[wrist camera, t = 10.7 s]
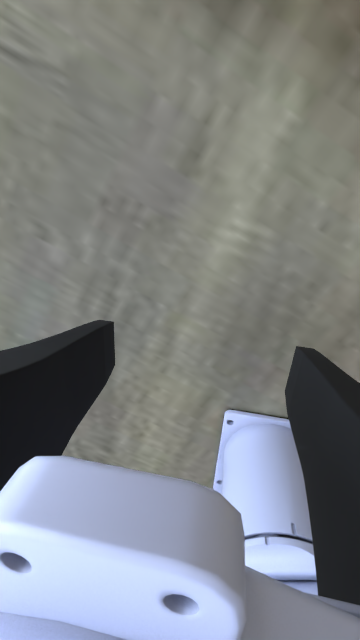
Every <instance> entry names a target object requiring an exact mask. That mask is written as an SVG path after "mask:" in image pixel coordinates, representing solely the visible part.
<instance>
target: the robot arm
mask: <svg viewBox="0 0 360 640" xmlns="http://www.w3.org/2000/svg"><path fill="white" fill-rule="evenodd" d="M114 366H115V349H114V322H111V321H104V320H97V321H93V322H90V323H87V324H84V325H81V326H79V327H76V328H73V329H71V330H68V331H65V332H63V333H60V334H57V335H54V336H51V337H48V338H45V339H42V340H40V341H37V342H33V343H30V344H26V345H23V346H19V347H15V348H11V349H7V350H2V351H0V640H360V383H358V382H357V381H356V380H354V379H353V378H352V377H350V376H349V375H348V374H346V373H345V372H344V371H342V370H341V369H340V368H339V367H337V366H336V365H335V364H334V363H332V362H331V361H330V360H328V359H327V358H326V357H325V356H323V355H322V354H321V353H319V352H318V351H316V350H315V349H312V348H305V347H298V346H296V350H295V353H294V357H293V361H292V365H291V369H290V373H289V377H288V381H287V385H286V388H285V396H286V406H287V414H288V418H289V419H284V418H278V417H272V416H266V415H260V414H254V413H248V412H241V411H235V410H227V411H226V412H225V415H224V422H223V428H222V434H221V440H220V447H219V453H218V459H217V465H216V471H215V478H214V484H213V489H210V488H208V487H205V486H203V485H200V484H198V483H195V482H193V481H189V480H184V479H179V478H174V477H169V476H164V475H159V474H154V473H149V472H144V471H139V470H134V469H129V468H124V467H119V466H114V465H109V464H104V463H99V462H94V461H89V460H84V459H79V458H74V457H69V456H61V455H62V453H63V451H64V449H65V447H66V446H67V444H68V442H69V440H70V438H71V436H72V434H73V433H74V431H75V430H76V428H77V426H78V425H79V423H80V422H81V420H82V419H83V417H84V416H85V414H86V413H87V411H88V410H89V409H90V407H91V406H92V404H93V403H94V401H95V400H96V398H97V397H98V395H99V394H100V392H101V391H102V389H103V388H104V386H105V385H106V383H107V381H108V379H109V377H110V375H111V372H112V370H113V368H114ZM228 420H232V422H229V421H228ZM220 480H221V481H220ZM221 494H222V495H221Z"/></svg>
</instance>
